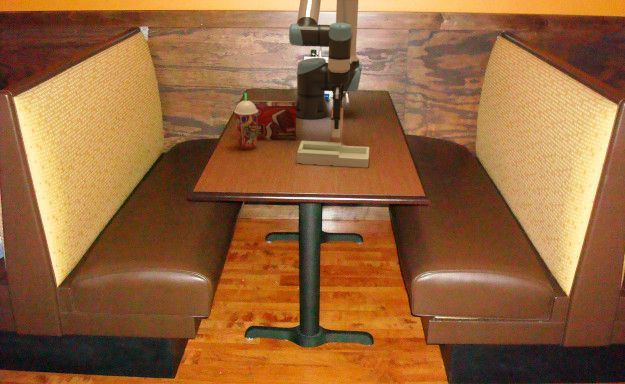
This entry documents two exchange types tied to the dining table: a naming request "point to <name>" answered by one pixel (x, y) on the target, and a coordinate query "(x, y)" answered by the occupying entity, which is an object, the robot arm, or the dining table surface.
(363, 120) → the dining table surface
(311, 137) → the dining table surface
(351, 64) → the robot arm
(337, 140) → the peg
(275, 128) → the ice cream box
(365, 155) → the slot board
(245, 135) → the smoothie
